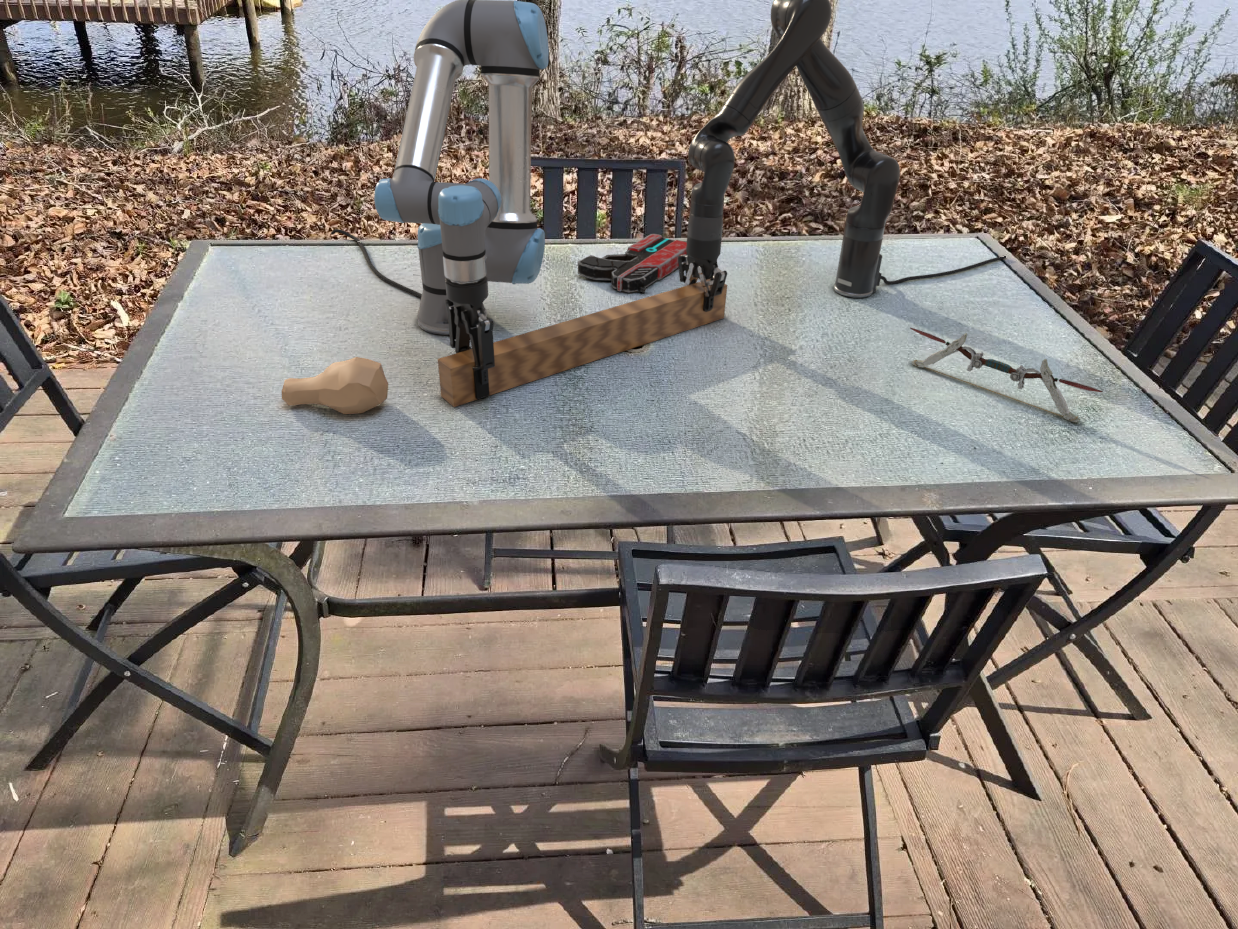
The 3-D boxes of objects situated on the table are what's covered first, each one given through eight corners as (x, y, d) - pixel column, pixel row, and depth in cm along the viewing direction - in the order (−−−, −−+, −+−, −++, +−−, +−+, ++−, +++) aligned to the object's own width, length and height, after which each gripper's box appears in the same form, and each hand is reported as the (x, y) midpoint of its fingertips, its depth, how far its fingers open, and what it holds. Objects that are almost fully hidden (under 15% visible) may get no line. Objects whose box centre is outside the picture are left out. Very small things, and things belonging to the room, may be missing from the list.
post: (454, 407, 165) (450, 368, 161) (441, 396, 169) (437, 358, 164) (724, 318, 202) (727, 284, 198) (709, 310, 206) (712, 277, 201)
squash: (388, 420, 161) (373, 382, 155) (283, 428, 163) (264, 391, 156) (399, 383, 169) (385, 345, 163) (299, 392, 170) (282, 354, 164)
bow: (1091, 425, 165) (1109, 378, 160) (1088, 428, 164) (1106, 381, 159) (904, 358, 187) (914, 315, 181) (900, 361, 186) (910, 317, 180)
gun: (571, 262, 216) (639, 281, 209) (634, 226, 238) (698, 242, 231) (571, 279, 219) (638, 298, 211) (633, 242, 241) (696, 258, 233)
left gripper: (511, 288, 153) (516, 403, 166) (459, 257, 165) (468, 367, 178) (473, 298, 149) (482, 415, 162) (423, 265, 161) (435, 377, 174)
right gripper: (740, 239, 187) (732, 313, 196) (695, 221, 196) (689, 292, 206) (714, 246, 183) (708, 321, 192) (669, 227, 192) (665, 299, 202)
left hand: (474, 390), depth 170 cm, fingers closed on post, 5 cm apart
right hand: (698, 306), depth 199 cm, fingers closed on post, 5 cm apart
